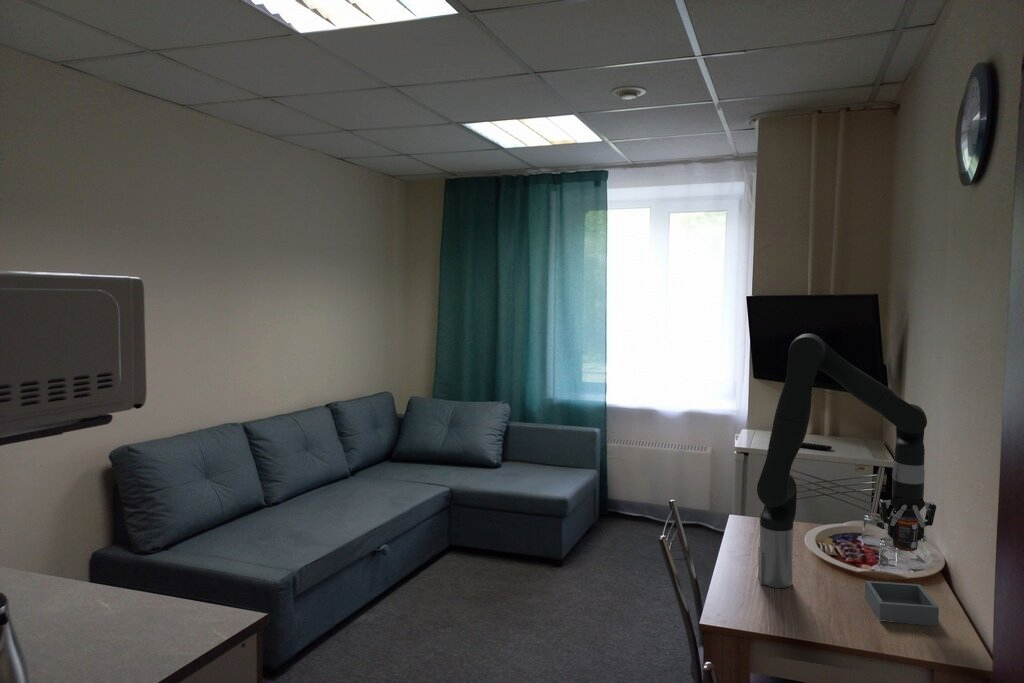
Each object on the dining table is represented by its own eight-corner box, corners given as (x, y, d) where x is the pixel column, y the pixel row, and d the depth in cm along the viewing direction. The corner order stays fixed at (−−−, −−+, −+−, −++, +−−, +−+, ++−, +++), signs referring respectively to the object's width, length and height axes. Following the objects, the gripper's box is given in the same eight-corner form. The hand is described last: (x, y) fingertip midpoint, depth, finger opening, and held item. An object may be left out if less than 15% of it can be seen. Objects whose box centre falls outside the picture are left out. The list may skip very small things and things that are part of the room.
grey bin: (879, 621, 186) (879, 603, 185) (864, 597, 199) (865, 580, 199) (938, 626, 183) (938, 607, 182) (919, 601, 196) (920, 584, 196)
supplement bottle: (921, 552, 189) (923, 511, 188) (897, 551, 190) (899, 510, 189) (912, 544, 195) (914, 504, 194) (889, 543, 196) (891, 503, 195)
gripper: (884, 481, 188) (881, 542, 190) (943, 484, 186) (939, 545, 187) (875, 473, 196) (872, 532, 197) (931, 476, 193) (928, 535, 195)
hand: (905, 538), depth 192 cm, fingers closed on supplement bottle, 6 cm apart
